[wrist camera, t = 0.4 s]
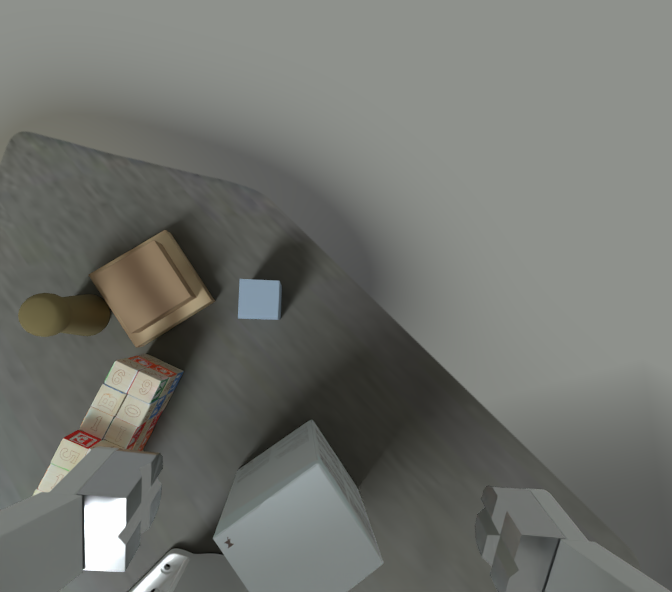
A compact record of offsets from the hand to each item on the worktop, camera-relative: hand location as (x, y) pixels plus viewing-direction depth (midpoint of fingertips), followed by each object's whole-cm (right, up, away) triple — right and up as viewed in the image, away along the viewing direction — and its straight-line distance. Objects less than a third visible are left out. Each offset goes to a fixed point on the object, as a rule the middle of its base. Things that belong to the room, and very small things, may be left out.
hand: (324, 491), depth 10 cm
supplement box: (-5, -22, +47) cm, 53 cm away
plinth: (-26, +6, +46) cm, 53 cm away
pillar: (-10, +4, +48) cm, 49 cm away
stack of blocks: (-29, -14, +45) cm, 56 cm away
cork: (-35, +2, +45) cm, 57 cm away
